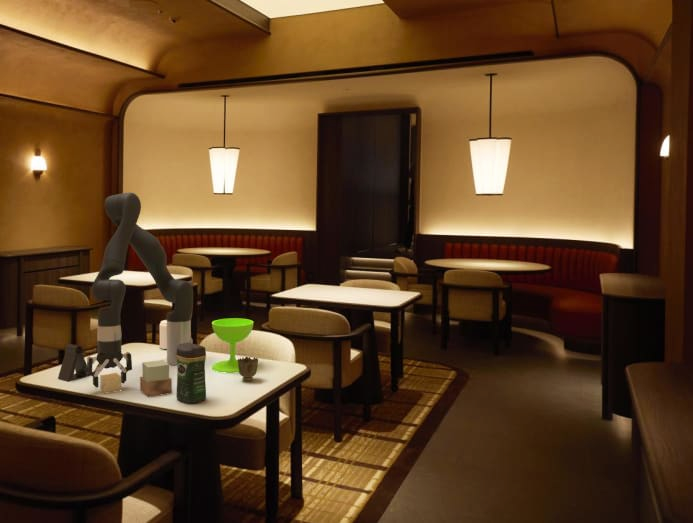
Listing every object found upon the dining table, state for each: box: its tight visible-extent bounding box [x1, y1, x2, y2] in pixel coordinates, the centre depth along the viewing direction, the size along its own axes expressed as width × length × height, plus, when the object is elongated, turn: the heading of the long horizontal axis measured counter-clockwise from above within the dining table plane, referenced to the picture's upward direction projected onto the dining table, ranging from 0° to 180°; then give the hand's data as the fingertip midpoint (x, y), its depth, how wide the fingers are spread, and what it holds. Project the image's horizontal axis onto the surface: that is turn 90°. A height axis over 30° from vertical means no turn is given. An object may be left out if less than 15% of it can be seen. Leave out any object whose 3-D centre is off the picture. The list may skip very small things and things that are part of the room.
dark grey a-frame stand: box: [57, 343, 90, 383], centre depth 214 cm, size 9×6×12 cm, turn 148°
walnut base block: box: [139, 376, 173, 398], centre depth 200 cm, size 8×8×5 cm
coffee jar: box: [175, 342, 207, 404], centre depth 192 cm, size 10×8×19 cm
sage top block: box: [141, 359, 170, 382], centre depth 199 cm, size 7×7×5 cm
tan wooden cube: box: [99, 372, 122, 394], centre depth 201 cm, size 5×5×5 cm
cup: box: [237, 356, 259, 382], centre depth 215 cm, size 8×7×8 cm
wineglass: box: [211, 317, 254, 374], centre depth 231 cm, size 16×16×18 cm
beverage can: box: [159, 319, 167, 350], centre depth 260 cm, size 8×8×12 cm
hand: (109, 385), depth 201 cm, fingers open, 8 cm apart
